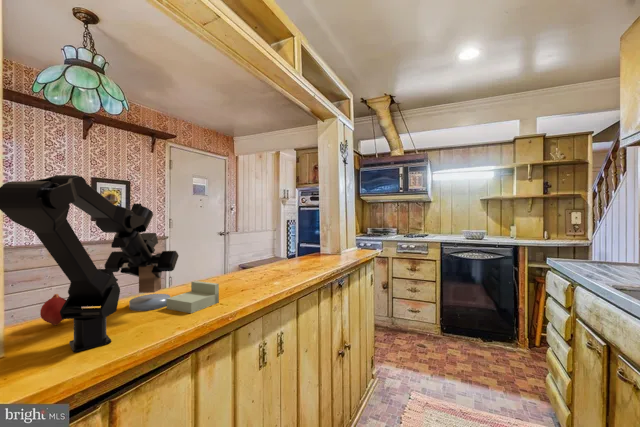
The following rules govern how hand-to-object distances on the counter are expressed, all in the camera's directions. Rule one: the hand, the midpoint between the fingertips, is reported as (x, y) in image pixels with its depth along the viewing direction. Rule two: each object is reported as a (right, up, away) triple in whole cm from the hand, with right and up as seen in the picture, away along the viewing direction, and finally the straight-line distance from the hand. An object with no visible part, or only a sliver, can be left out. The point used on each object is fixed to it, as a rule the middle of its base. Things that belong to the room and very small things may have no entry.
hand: (152, 276), depth 93 cm
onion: (-15, -9, -17) cm, 25 cm away
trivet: (0, -8, -1) cm, 9 cm away
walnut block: (0, -4, -1) cm, 4 cm away
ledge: (+14, -8, -2) cm, 16 cm away
